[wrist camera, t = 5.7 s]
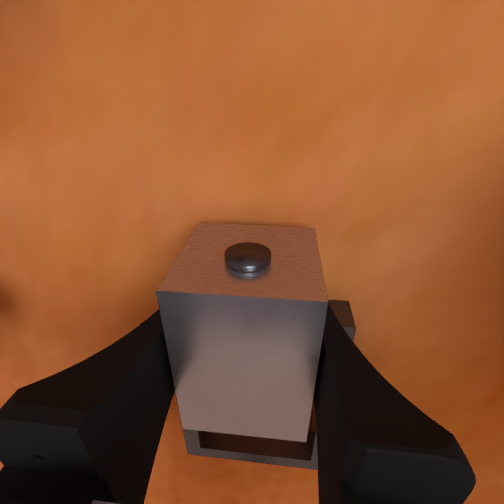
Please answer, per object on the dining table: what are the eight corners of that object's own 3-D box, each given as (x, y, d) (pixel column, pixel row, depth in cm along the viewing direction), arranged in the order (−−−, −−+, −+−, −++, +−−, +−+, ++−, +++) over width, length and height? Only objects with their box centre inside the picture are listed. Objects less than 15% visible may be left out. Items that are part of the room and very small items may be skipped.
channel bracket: (348, 301, 16) (355, 328, 14) (321, 440, 22) (324, 470, 20) (173, 290, 17) (159, 313, 15) (195, 426, 23) (187, 454, 21)
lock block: (315, 221, 13) (329, 293, 8) (301, 345, 16) (306, 442, 12) (198, 216, 13) (154, 282, 9) (210, 338, 17) (182, 428, 12)
